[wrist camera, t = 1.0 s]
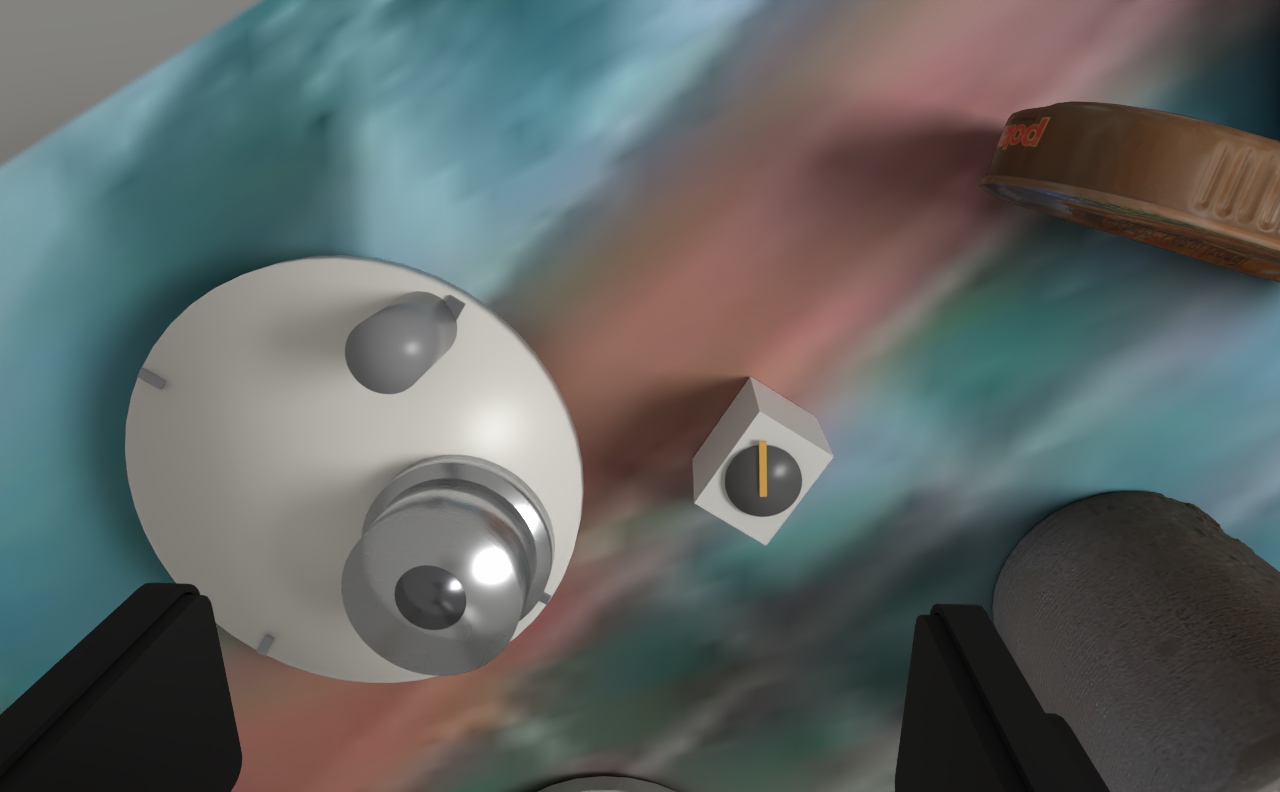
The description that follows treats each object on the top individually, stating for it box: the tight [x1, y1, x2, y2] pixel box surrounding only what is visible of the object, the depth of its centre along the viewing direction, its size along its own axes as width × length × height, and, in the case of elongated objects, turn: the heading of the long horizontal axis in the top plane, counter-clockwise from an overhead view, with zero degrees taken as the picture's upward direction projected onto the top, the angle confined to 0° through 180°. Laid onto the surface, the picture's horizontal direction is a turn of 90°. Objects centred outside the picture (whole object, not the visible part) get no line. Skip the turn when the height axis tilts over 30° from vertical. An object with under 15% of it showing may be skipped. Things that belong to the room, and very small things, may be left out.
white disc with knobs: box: [125, 255, 584, 683], centre depth 30 cm, size 17×17×6 cm
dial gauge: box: [692, 377, 834, 545], centre depth 30 cm, size 4×3×4 cm
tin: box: [979, 102, 1280, 282], centre depth 25 cm, size 15×3×8 cm, turn 74°
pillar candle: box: [992, 491, 1280, 792], centre depth 27 cm, size 10×10×15 cm
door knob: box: [341, 455, 555, 676], centre depth 30 cm, size 7×7×4 cm
